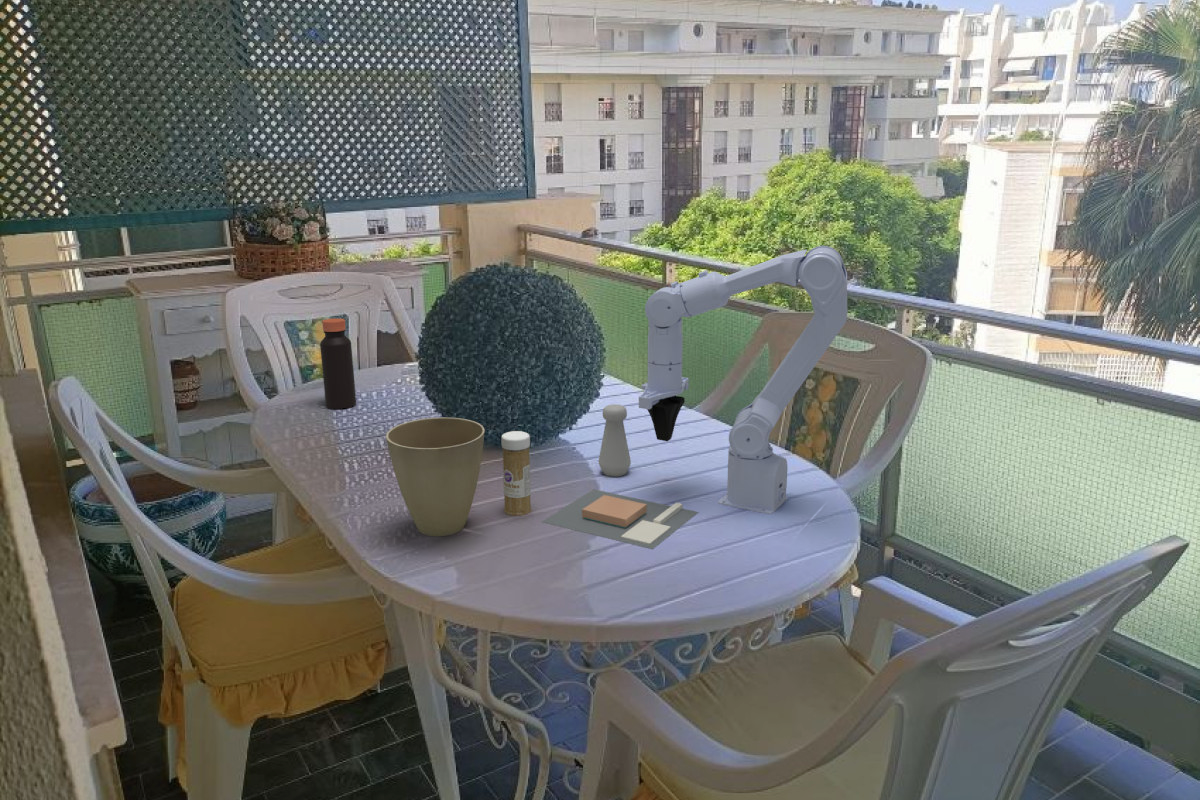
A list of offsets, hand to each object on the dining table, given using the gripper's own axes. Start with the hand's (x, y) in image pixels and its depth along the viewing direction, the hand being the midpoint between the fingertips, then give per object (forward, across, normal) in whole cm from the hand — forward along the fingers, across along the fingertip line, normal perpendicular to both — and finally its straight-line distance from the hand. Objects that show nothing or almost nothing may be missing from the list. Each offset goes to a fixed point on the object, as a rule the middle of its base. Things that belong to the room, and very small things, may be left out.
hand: (664, 439), depth 154 cm
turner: (+10, +13, +6) cm, 17 cm away
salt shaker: (+10, -4, -12) cm, 16 cm away
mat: (+10, +13, -1) cm, 16 cm away
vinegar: (+10, -11, -89) cm, 90 cm away
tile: (+9, +10, -2) cm, 13 cm away
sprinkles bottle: (+10, +19, -17) cm, 27 cm away
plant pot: (+10, +30, -24) cm, 40 cm away
